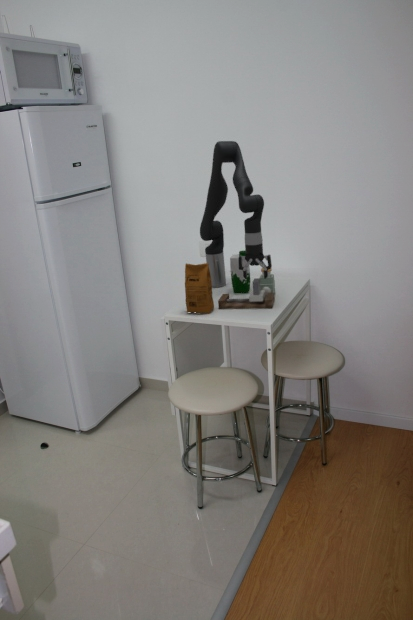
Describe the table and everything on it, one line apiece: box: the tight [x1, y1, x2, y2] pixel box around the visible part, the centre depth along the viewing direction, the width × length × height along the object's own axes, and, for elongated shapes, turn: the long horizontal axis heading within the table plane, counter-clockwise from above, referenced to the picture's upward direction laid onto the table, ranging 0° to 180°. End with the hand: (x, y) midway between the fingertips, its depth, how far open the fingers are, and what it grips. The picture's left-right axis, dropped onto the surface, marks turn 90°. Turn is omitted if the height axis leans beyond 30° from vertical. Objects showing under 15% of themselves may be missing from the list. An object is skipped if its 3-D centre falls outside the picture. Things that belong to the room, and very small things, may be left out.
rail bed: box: [217, 293, 276, 310], centre depth 225 cm, size 24×10×4 cm, turn 77°
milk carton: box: [229, 250, 251, 295], centre depth 243 cm, size 9×9×20 cm
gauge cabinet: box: [259, 273, 276, 298], centre depth 233 cm, size 6×8×10 cm
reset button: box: [260, 267, 273, 277], centre depth 231 cm, size 5×5×4 cm
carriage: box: [248, 277, 265, 302], centre depth 222 cm, size 6×8×8 cm
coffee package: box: [184, 262, 215, 314], centre depth 221 cm, size 10×12×22 cm
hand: (255, 278), depth 221 cm, fingers open, 8 cm apart
